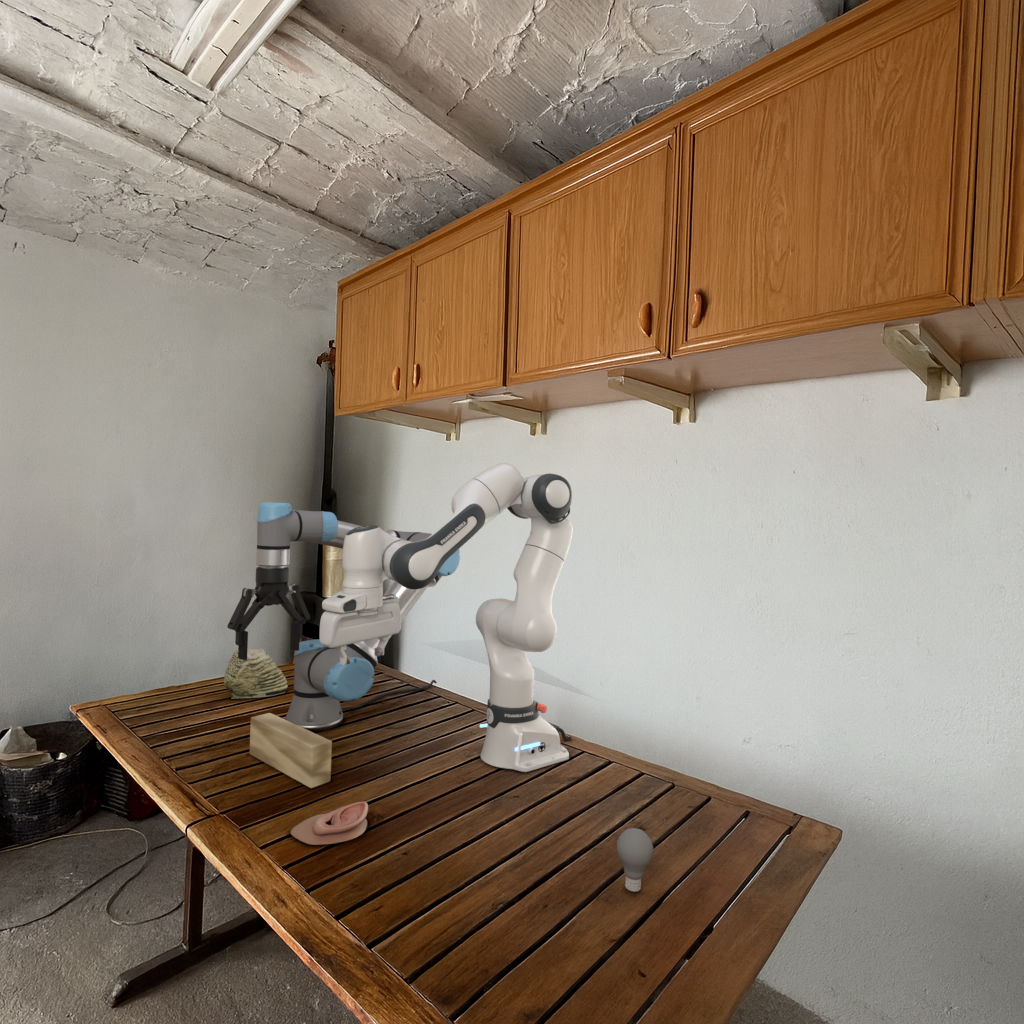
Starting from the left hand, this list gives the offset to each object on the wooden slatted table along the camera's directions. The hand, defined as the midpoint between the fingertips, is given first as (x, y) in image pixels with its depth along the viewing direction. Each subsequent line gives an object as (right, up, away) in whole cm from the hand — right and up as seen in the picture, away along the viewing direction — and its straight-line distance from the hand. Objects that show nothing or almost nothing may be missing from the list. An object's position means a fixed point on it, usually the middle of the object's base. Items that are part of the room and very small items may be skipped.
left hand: (269, 654), depth 153 cm
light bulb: (+79, -29, -47) cm, 96 cm away
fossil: (-22, -23, +45) cm, 55 cm away
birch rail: (+6, -25, -5) cm, 26 cm away
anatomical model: (+24, -26, -32) cm, 48 cm away
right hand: (+25, +1, -11) cm, 27 cm away
